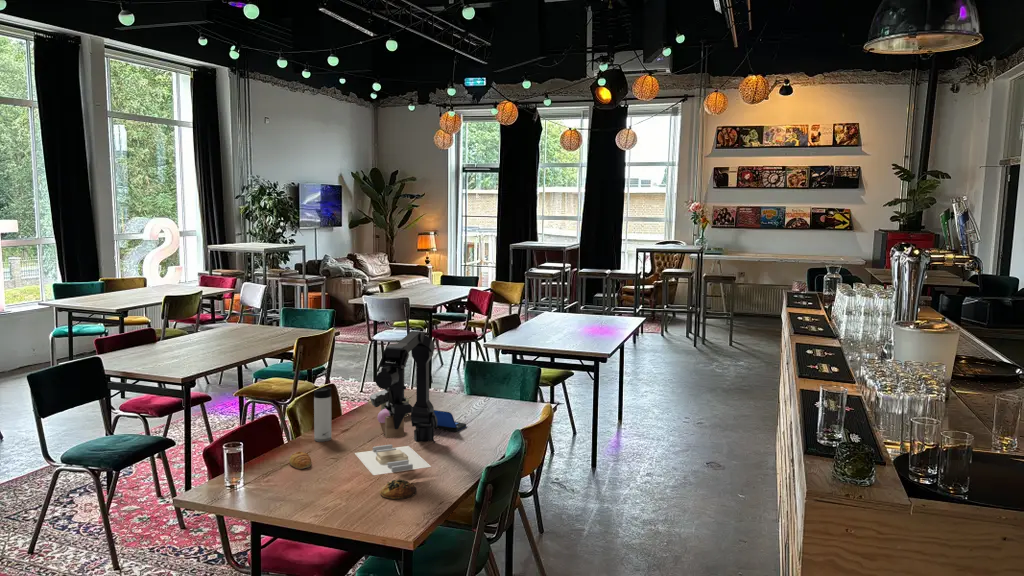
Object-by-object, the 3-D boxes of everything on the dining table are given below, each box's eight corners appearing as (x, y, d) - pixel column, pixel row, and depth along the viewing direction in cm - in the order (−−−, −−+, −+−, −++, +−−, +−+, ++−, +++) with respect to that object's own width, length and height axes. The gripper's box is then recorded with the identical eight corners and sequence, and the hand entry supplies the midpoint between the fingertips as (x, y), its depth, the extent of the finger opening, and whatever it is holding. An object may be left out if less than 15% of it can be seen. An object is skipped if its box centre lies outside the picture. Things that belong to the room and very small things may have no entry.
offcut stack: (403, 455, 247) (403, 448, 247) (408, 459, 243) (408, 453, 243) (375, 459, 243) (375, 452, 242) (379, 463, 238) (379, 457, 238)
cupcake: (402, 430, 280) (402, 405, 279) (397, 437, 271) (397, 411, 270) (381, 429, 281) (381, 404, 280) (374, 435, 272) (374, 410, 271)
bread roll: (419, 498, 212) (417, 482, 212) (382, 506, 209) (380, 490, 209) (414, 486, 223) (412, 470, 222) (379, 493, 220) (376, 478, 219)
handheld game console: (467, 427, 287) (467, 404, 286) (451, 435, 275) (451, 412, 274) (434, 421, 294) (434, 400, 293) (417, 430, 282) (417, 407, 281)
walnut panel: (402, 434, 240) (402, 414, 239) (403, 436, 238) (404, 416, 237) (384, 436, 237) (384, 416, 236) (386, 438, 235) (386, 417, 235)
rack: (408, 448, 258) (408, 441, 258) (431, 469, 237) (431, 462, 236) (354, 455, 249) (354, 448, 249) (373, 478, 228) (373, 470, 227)
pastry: (316, 467, 237) (316, 456, 236) (296, 471, 233) (296, 460, 233) (306, 460, 244) (306, 449, 244) (287, 463, 240) (286, 452, 240)
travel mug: (327, 442, 263) (327, 390, 261) (311, 441, 264) (311, 389, 262) (335, 437, 269) (334, 386, 267) (319, 436, 270) (318, 385, 268)
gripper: (365, 379, 241) (364, 423, 242) (379, 390, 224) (379, 438, 225) (396, 376, 246) (396, 420, 247) (413, 387, 229) (412, 434, 230)
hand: (395, 428), depth 237 cm, fingers closed on walnut panel, 2 cm apart
